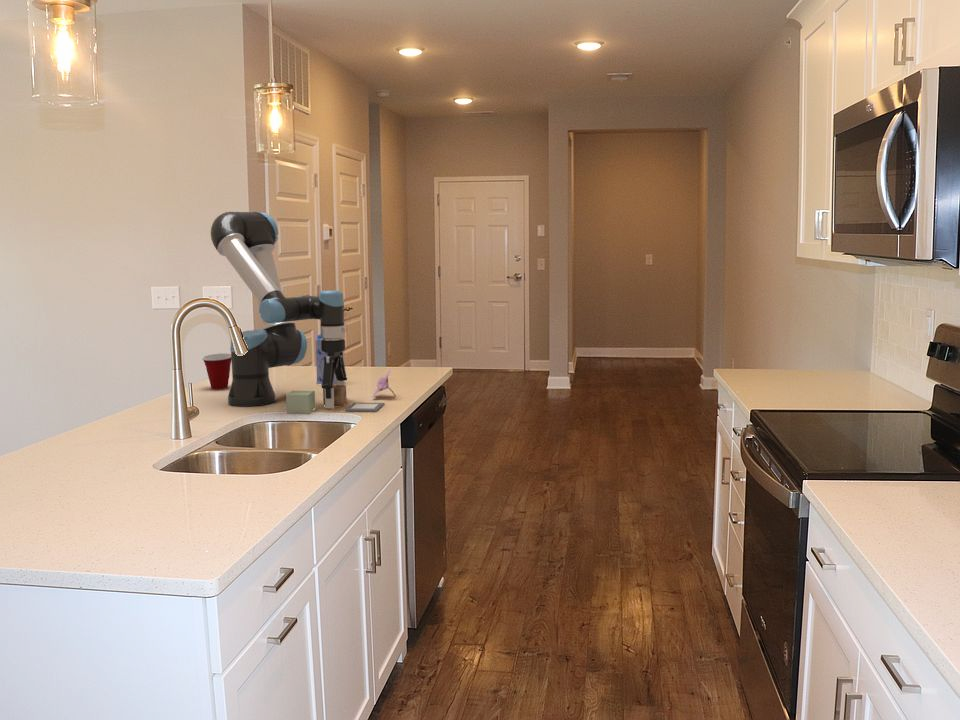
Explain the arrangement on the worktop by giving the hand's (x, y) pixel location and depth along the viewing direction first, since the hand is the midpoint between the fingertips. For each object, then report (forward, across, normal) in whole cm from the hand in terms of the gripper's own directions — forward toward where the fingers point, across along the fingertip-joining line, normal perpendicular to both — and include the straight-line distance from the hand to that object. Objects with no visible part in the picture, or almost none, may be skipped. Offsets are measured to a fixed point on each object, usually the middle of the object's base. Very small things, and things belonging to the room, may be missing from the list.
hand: (335, 404), depth 287 cm
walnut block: (0, 0, 0) cm, 0 cm away
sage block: (0, -10, +8) cm, 13 cm away
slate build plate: (0, -5, -11) cm, 12 cm away
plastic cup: (0, +29, +51) cm, 59 cm away
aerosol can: (0, +40, +14) cm, 43 cm away
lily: (0, +14, -13) cm, 19 cm away
